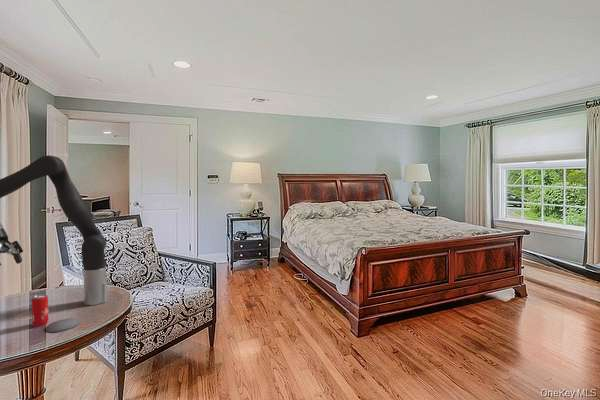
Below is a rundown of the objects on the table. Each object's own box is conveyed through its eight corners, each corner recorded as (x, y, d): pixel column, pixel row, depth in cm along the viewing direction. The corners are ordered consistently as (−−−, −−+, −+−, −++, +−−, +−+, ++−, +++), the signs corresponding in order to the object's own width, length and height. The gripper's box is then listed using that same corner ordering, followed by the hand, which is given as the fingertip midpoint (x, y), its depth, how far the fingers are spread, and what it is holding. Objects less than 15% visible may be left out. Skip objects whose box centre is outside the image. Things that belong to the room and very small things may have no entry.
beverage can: (38, 321, 132) (37, 294, 131) (51, 321, 132) (50, 294, 132) (29, 327, 127) (28, 298, 126) (42, 327, 127) (41, 298, 127)
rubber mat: (82, 318, 136) (82, 316, 136) (75, 329, 126) (75, 327, 126) (51, 322, 132) (51, 320, 131) (41, 334, 121) (41, 332, 121)
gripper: (-20, 228, 126) (-2, 262, 125) (16, 226, 140) (32, 257, 139) (-34, 238, 127) (-16, 272, 126) (3, 235, 141) (19, 265, 140)
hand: (9, 264), depth 132 cm, fingers open, 8 cm apart
